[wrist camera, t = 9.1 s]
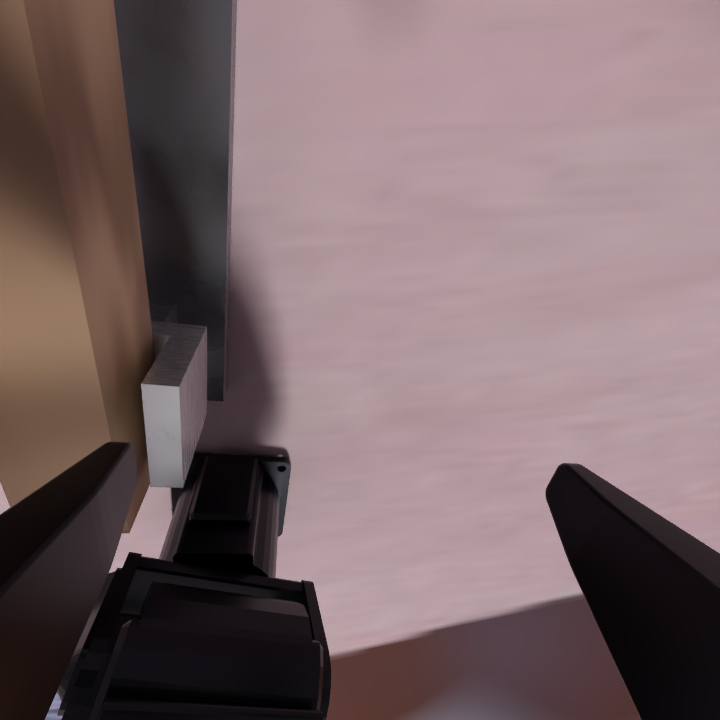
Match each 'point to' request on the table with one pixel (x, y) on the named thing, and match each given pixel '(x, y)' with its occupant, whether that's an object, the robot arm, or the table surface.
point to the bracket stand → (181, 208)
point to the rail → (68, 248)
